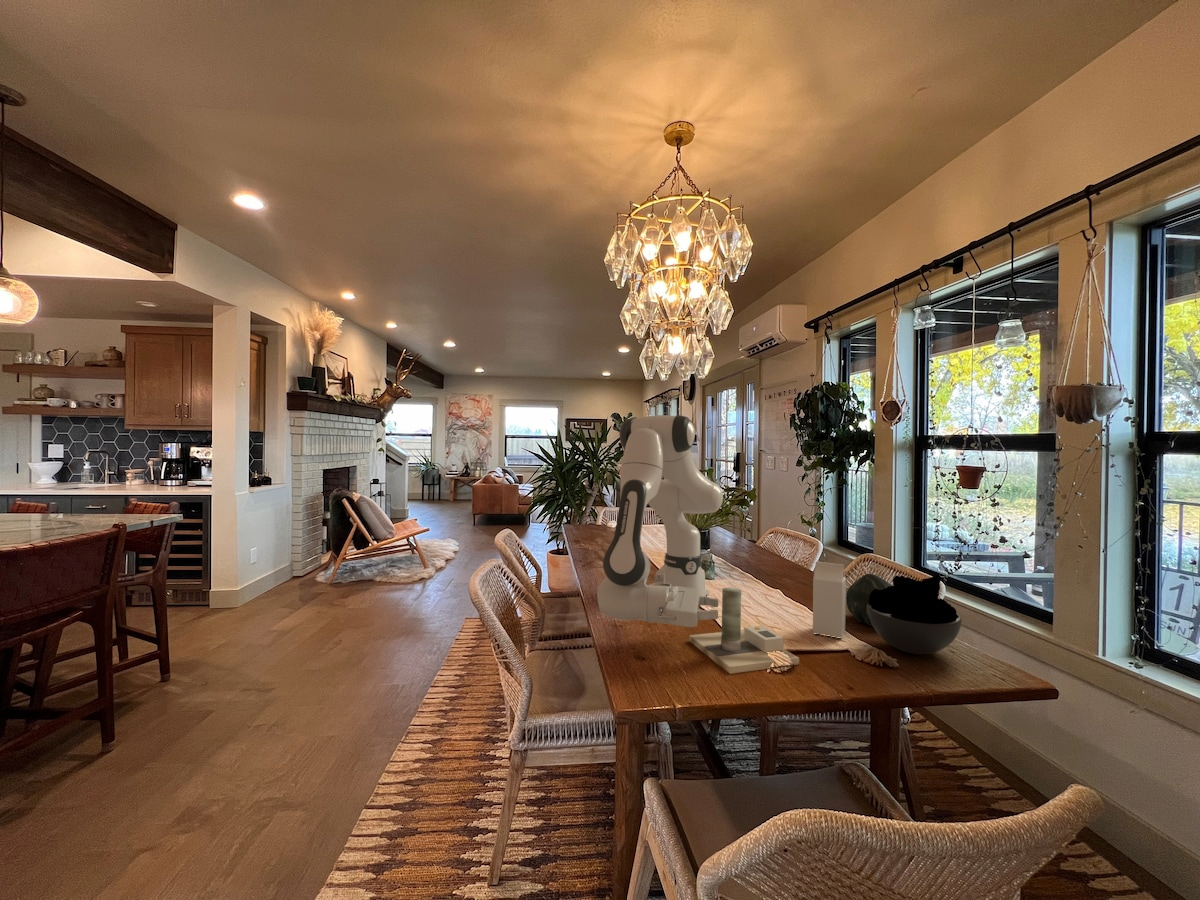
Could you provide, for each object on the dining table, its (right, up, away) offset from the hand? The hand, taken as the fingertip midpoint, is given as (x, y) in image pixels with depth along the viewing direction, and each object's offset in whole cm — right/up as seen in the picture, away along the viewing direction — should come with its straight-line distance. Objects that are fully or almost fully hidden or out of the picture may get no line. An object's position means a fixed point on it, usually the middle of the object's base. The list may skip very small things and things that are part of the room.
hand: (718, 608), depth 127 cm
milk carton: (+33, -11, +15) cm, 38 cm away
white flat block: (+6, -11, +1) cm, 13 cm away
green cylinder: (+3, -9, -1) cm, 10 cm away
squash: (+50, -11, +24) cm, 57 cm away
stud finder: (+11, -9, +2) cm, 15 cm away
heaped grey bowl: (+48, -11, +3) cm, 50 cm away
